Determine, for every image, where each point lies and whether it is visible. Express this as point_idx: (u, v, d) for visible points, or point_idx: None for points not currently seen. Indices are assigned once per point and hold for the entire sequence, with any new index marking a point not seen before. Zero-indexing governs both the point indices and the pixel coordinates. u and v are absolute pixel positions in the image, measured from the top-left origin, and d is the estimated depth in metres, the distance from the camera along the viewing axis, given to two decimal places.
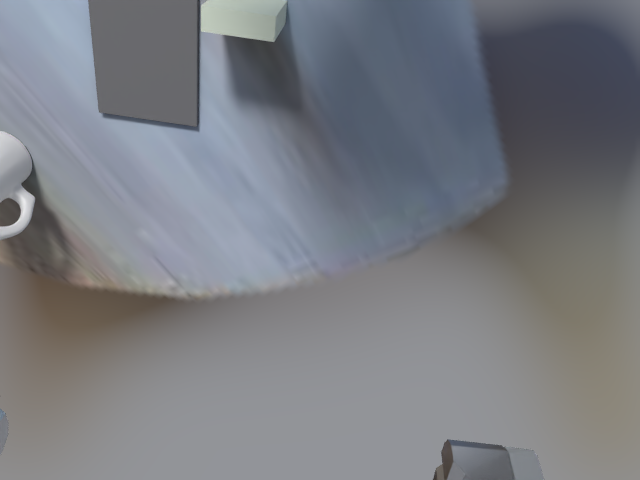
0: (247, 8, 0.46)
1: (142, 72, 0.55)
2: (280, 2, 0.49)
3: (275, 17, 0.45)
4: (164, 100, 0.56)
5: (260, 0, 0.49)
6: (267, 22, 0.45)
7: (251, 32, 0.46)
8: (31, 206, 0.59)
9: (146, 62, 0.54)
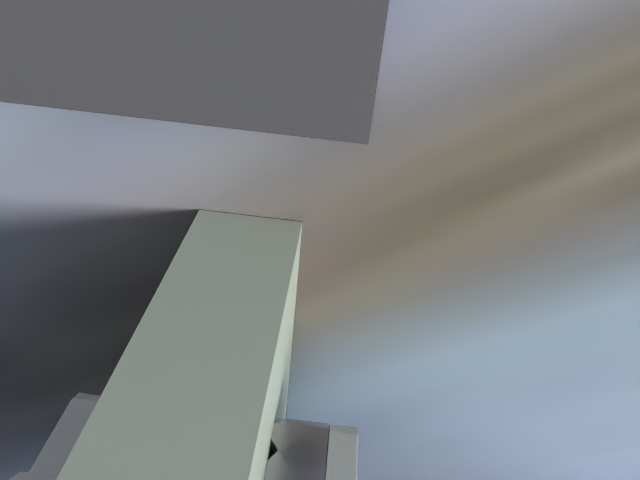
0: None
1: None
2: None
3: None
4: None
5: None
6: None
7: None
8: None
9: None
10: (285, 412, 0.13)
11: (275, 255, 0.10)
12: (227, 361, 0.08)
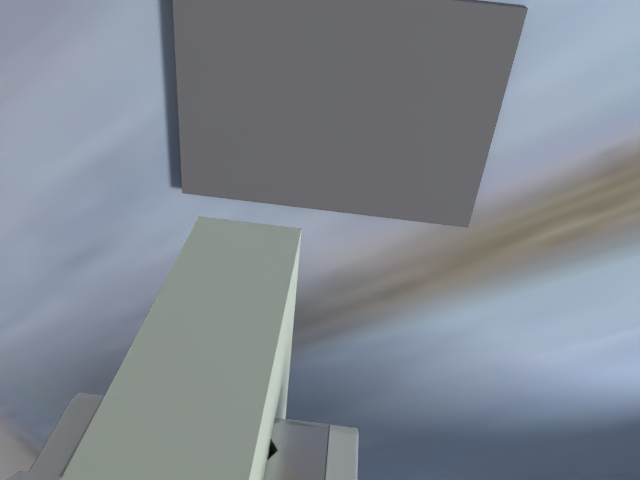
0: None
1: (284, 98, 0.25)
2: None
3: None
4: (227, 136, 0.26)
5: None
6: None
7: None
8: None
9: (305, 110, 0.25)
10: (284, 417, 0.13)
11: (275, 262, 0.10)
12: (226, 367, 0.08)
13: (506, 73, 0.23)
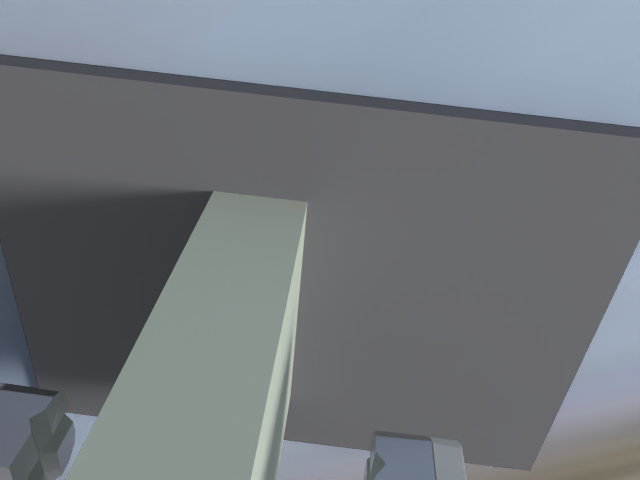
0: None
1: None
2: (284, 426, 0.14)
3: None
4: (108, 335, 0.14)
5: (286, 388, 0.13)
6: None
7: None
8: None
9: None
10: (290, 381, 0.14)
11: (284, 230, 0.11)
12: (244, 316, 0.09)
13: (626, 254, 0.12)
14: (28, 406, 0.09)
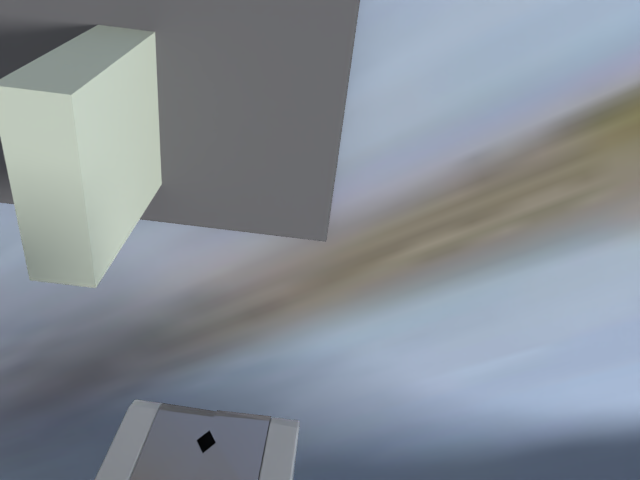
0: (104, 194, 0.17)
1: None
2: (151, 189, 0.22)
3: None
4: None
5: (145, 152, 0.20)
6: (75, 267, 0.17)
7: (36, 229, 0.16)
8: None
9: None
10: (159, 167, 0.22)
11: (134, 38, 0.19)
12: (96, 58, 0.17)
13: (346, 66, 0.20)
14: (192, 427, 0.09)
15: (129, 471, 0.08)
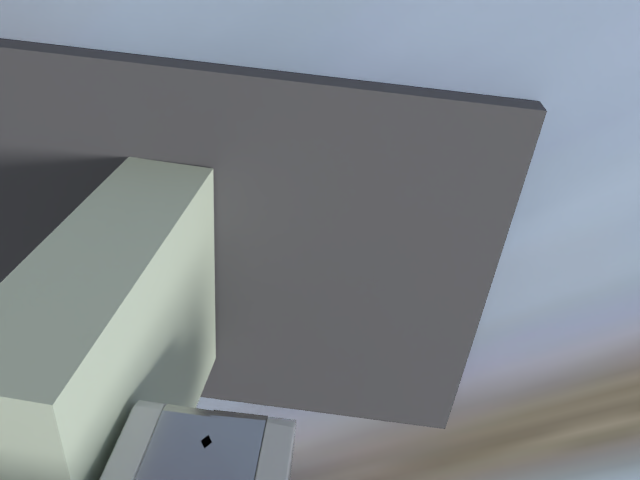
0: None
1: None
2: (201, 381, 0.15)
3: None
4: None
5: (194, 342, 0.14)
6: None
7: None
8: None
9: None
10: (212, 342, 0.15)
11: (181, 190, 0.12)
12: (115, 257, 0.10)
13: (506, 216, 0.13)
14: (196, 427, 0.09)
15: (134, 471, 0.08)
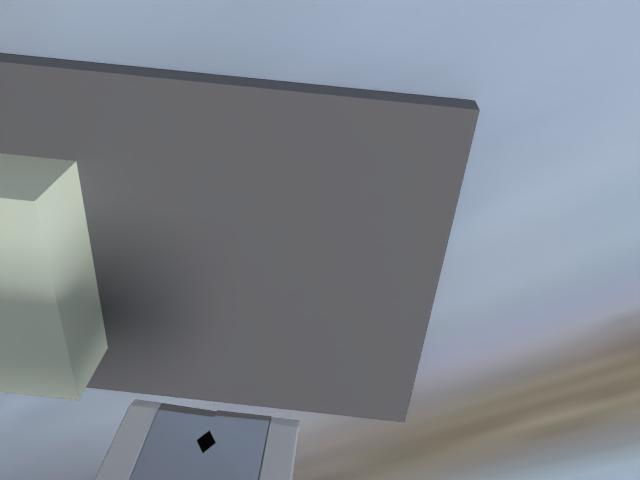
0: None
1: None
2: (26, 383, 0.15)
3: None
4: None
5: None
6: None
7: None
8: None
9: (121, 264, 0.15)
10: (63, 376, 0.14)
11: None
12: None
13: (448, 212, 0.13)
14: (192, 427, 0.09)
15: (129, 471, 0.08)
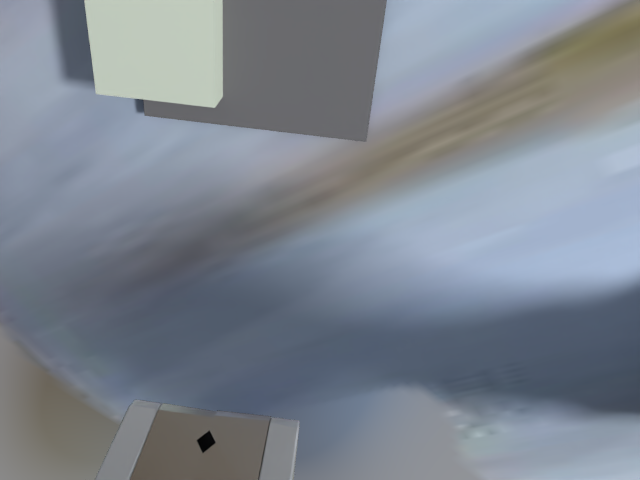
0: (113, 52, 0.31)
1: None
2: (192, 97, 0.33)
3: (98, 92, 0.33)
4: None
5: (184, 67, 0.32)
6: None
7: None
8: None
9: (235, 46, 0.33)
10: (210, 93, 0.32)
11: None
12: None
13: (381, 15, 0.31)
14: (192, 427, 0.09)
15: (129, 471, 0.08)
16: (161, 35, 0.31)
